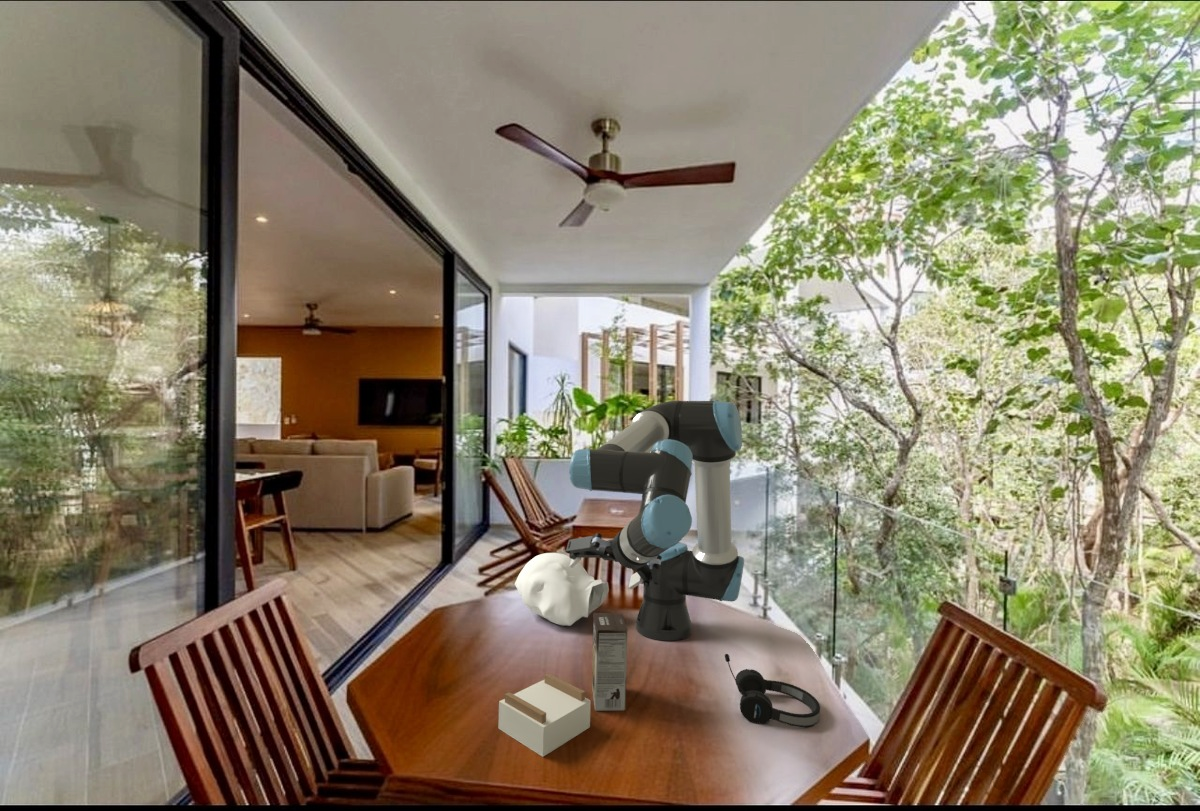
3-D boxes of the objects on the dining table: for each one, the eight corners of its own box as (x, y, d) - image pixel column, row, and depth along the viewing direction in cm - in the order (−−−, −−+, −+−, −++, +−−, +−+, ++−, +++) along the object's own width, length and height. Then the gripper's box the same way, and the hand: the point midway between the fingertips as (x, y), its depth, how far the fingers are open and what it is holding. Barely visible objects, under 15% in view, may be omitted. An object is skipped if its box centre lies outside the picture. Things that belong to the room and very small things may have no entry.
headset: (723, 642, 117) (815, 662, 114) (717, 684, 117) (809, 705, 114) (727, 671, 104) (831, 693, 101) (720, 718, 104) (824, 742, 101)
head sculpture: (569, 656, 143) (500, 613, 156) (609, 614, 159) (543, 579, 171) (573, 604, 137) (501, 563, 149) (614, 565, 153) (546, 532, 165)
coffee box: (590, 688, 115) (592, 612, 115) (620, 687, 116) (622, 612, 116) (593, 711, 106) (596, 629, 106) (626, 711, 107) (628, 629, 107)
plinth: (545, 703, 109) (546, 670, 109) (589, 727, 101) (590, 692, 101) (498, 728, 100) (499, 693, 100) (542, 757, 92) (543, 718, 92)
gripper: (568, 539, 94) (542, 569, 111) (697, 586, 97) (652, 608, 114) (579, 501, 98) (552, 535, 115) (702, 547, 101) (658, 574, 118)
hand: (602, 572), depth 115 cm, fingers open, 13 cm apart
